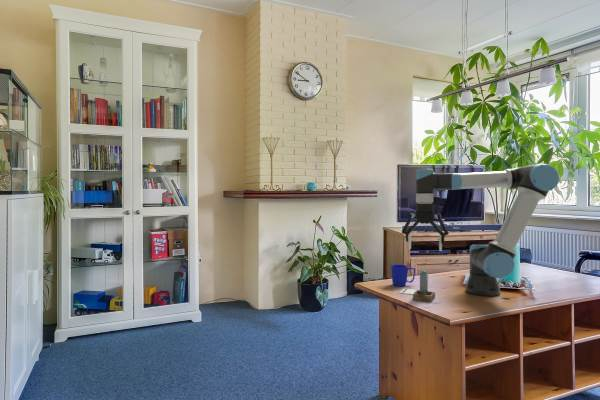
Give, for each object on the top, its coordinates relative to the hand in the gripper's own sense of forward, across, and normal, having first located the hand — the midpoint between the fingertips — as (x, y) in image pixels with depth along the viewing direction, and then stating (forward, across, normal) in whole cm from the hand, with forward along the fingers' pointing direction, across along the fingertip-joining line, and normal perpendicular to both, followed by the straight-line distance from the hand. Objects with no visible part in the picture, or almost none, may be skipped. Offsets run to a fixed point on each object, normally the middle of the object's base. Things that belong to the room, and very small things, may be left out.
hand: (424, 249), depth 179 cm
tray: (+22, 0, +1) cm, 22 cm away
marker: (+21, 0, +1) cm, 21 cm away
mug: (+22, +15, -20) cm, 33 cm away
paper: (+22, +5, -8) cm, 24 cm away
